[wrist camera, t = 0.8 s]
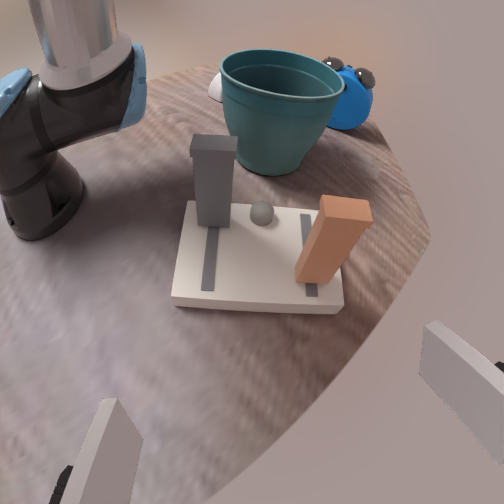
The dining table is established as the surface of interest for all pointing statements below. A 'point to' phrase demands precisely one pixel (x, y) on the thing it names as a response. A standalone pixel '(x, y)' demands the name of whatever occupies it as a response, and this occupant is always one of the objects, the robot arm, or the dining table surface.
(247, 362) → the dining table surface
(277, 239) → the console
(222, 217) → the gray capped upright block
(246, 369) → the dining table surface
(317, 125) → the flower pot
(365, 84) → the alarm clock
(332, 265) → the terracotta paddle
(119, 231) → the dining table surface
